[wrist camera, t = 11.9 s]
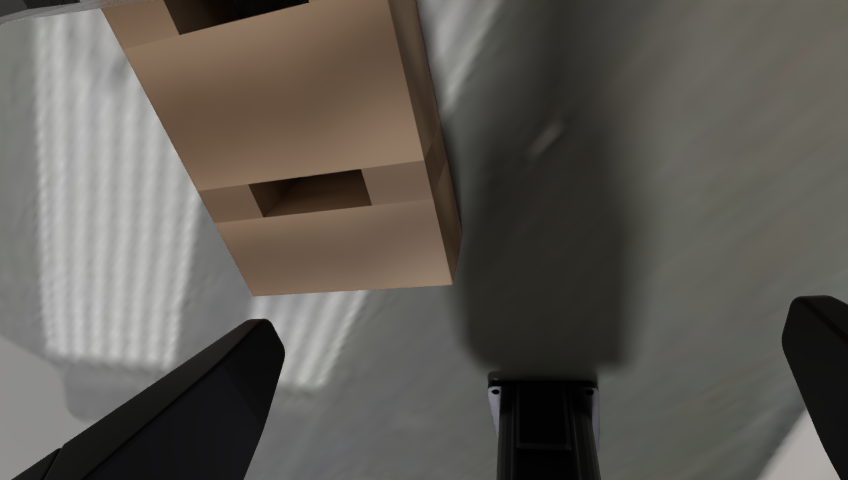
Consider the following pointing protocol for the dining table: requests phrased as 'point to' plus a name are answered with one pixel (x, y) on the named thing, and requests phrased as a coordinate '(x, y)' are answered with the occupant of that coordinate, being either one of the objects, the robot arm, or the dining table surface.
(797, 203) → the dining table surface
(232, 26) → the bit block
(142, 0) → the block
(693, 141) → the dining table surface
